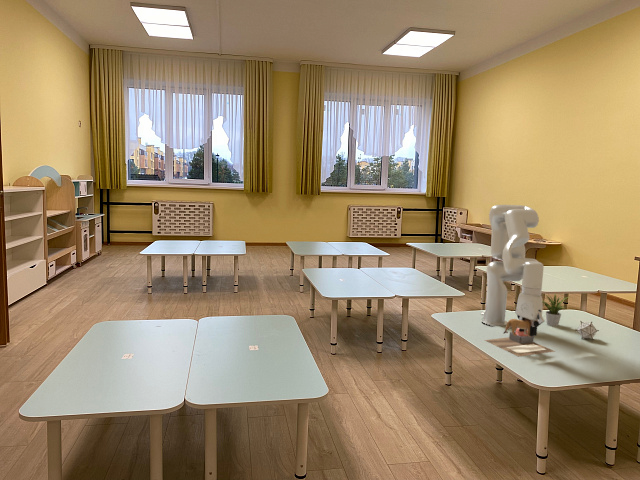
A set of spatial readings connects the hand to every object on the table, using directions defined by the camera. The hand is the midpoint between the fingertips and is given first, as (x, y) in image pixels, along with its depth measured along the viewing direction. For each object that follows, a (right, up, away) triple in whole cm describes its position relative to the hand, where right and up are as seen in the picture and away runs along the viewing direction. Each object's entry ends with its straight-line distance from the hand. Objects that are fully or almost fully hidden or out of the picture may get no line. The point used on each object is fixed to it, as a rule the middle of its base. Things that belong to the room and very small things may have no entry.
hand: (527, 333), depth 199 cm
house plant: (+31, -4, +41) cm, 52 cm away
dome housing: (+2, -6, +12) cm, 13 cm away
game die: (+36, -7, +21) cm, 42 cm away
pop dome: (+2, -5, +11) cm, 13 cm away
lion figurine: (-3, -1, 0) cm, 3 cm away
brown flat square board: (-2, -8, +5) cm, 9 cm away
